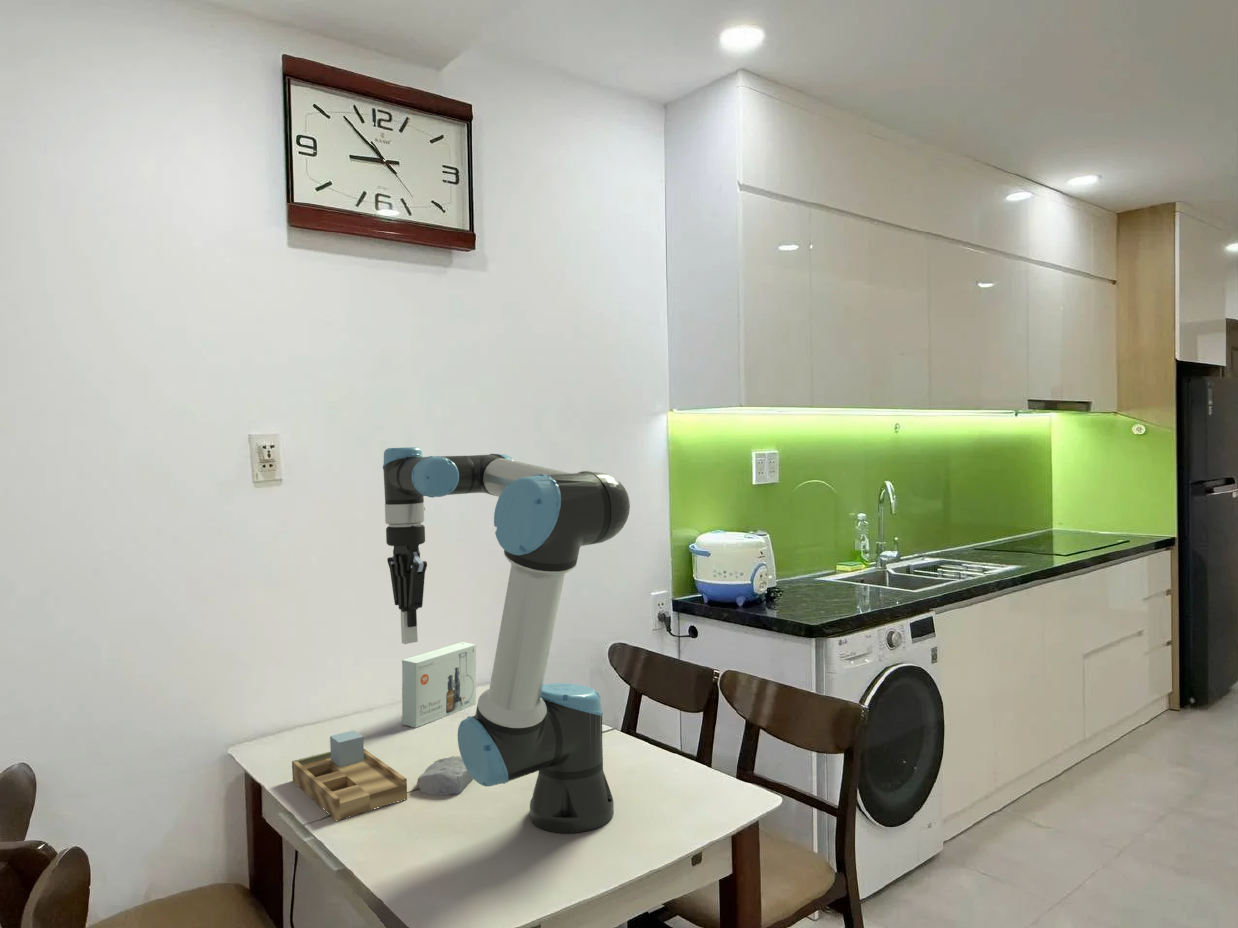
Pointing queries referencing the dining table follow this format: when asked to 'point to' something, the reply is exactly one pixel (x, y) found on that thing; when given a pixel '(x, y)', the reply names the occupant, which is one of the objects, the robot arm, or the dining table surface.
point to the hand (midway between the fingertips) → (409, 642)
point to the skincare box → (438, 683)
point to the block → (347, 748)
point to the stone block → (445, 777)
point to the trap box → (349, 784)
